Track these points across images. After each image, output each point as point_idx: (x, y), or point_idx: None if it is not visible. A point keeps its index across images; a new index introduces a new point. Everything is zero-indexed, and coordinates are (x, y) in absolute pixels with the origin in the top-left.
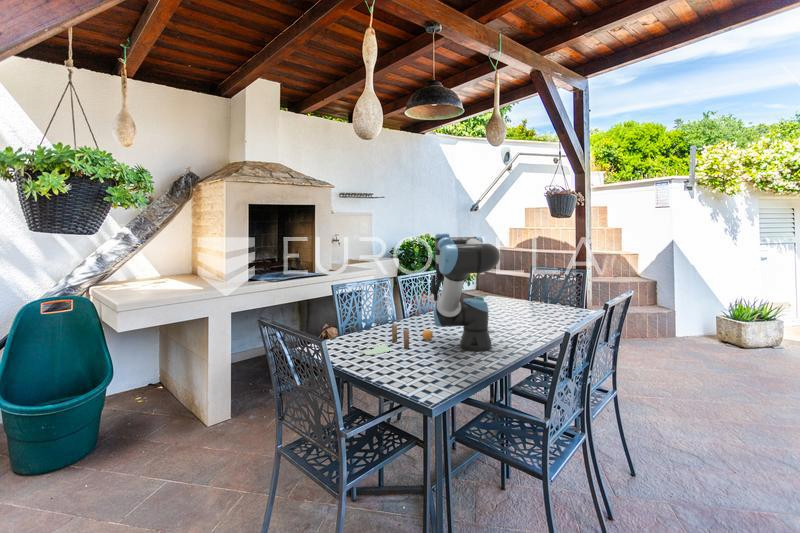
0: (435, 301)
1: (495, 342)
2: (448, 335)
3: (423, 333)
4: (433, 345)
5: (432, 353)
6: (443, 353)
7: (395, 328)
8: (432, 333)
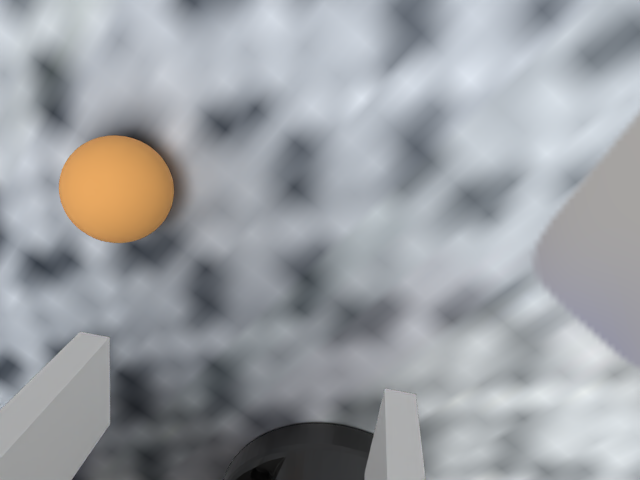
0: (8, 420)
1: None
2: (399, 191)
3: (59, 190)
4: (102, 314)
5: None
6: None
7: None
8: (154, 226)
